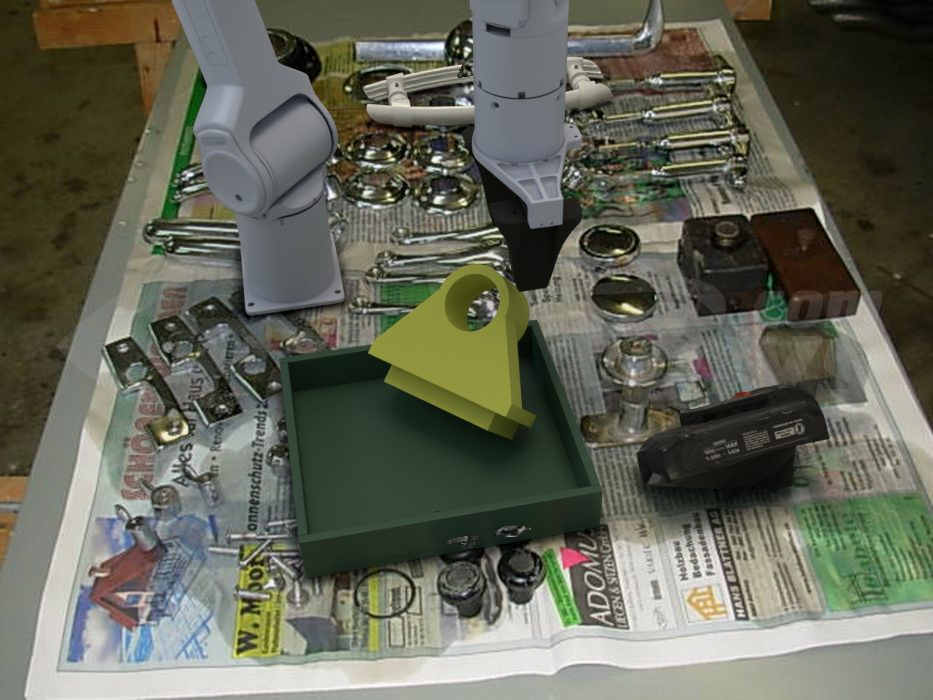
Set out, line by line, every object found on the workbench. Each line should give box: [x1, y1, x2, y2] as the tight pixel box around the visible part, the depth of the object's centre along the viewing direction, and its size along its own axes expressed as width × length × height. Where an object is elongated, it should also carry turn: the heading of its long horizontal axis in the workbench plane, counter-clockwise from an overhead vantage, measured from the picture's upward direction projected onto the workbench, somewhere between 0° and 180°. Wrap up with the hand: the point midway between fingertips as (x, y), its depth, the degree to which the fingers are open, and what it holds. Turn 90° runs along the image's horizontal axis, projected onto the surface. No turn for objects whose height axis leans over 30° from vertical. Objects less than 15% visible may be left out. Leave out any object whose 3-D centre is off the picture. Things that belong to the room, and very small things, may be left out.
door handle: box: [362, 56, 614, 128], centre depth 113 cm, size 3×10×25 cm
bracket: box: [368, 263, 537, 440], centre depth 77 cm, size 11×6×10 cm
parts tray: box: [278, 319, 604, 579], centre depth 76 cm, size 17×19×4 cm
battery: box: [636, 383, 831, 501], centre depth 73 cm, size 12×8×7 cm
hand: (518, 253), depth 77 cm, fingers open, 7 cm apart
